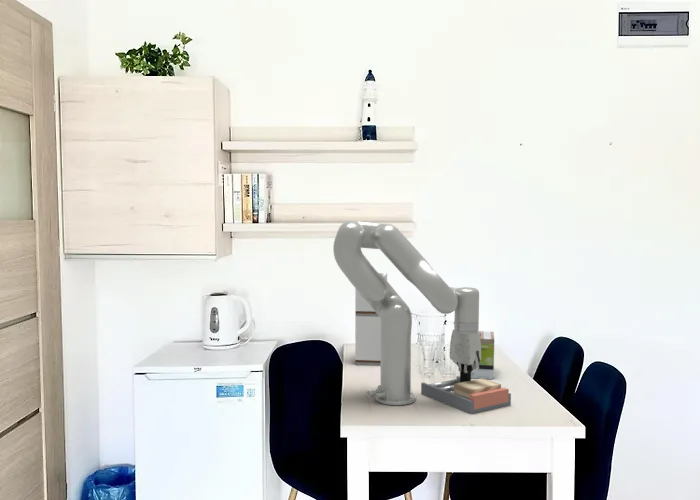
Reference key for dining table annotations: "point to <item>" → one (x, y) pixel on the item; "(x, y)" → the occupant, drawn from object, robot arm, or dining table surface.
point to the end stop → (490, 397)
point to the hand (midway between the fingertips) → (465, 384)
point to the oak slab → (474, 387)
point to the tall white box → (367, 332)
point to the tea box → (485, 357)
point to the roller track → (457, 399)
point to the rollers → (446, 386)
